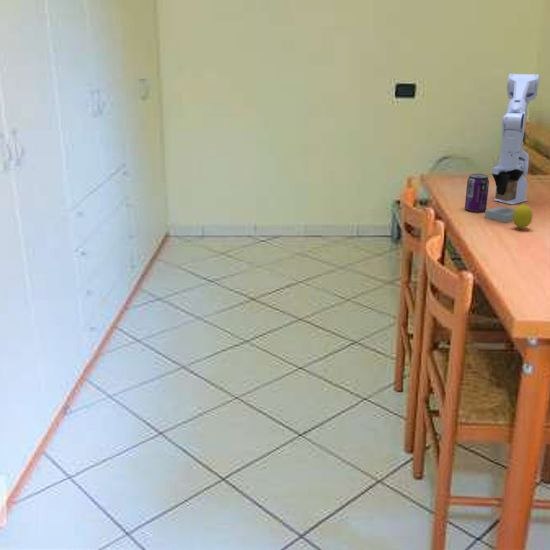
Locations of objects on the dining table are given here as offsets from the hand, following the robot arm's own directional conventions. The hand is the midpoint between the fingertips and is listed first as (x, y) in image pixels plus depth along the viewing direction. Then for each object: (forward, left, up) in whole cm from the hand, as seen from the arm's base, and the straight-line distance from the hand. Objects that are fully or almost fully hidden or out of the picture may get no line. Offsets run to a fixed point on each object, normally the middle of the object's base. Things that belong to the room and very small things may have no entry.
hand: (505, 193), depth 219 cm
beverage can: (-2, -12, -9) cm, 15 cm away
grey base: (0, 0, -8) cm, 8 cm away
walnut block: (0, 0, -2) cm, 2 cm away
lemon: (+6, +11, -9) cm, 15 cm away
